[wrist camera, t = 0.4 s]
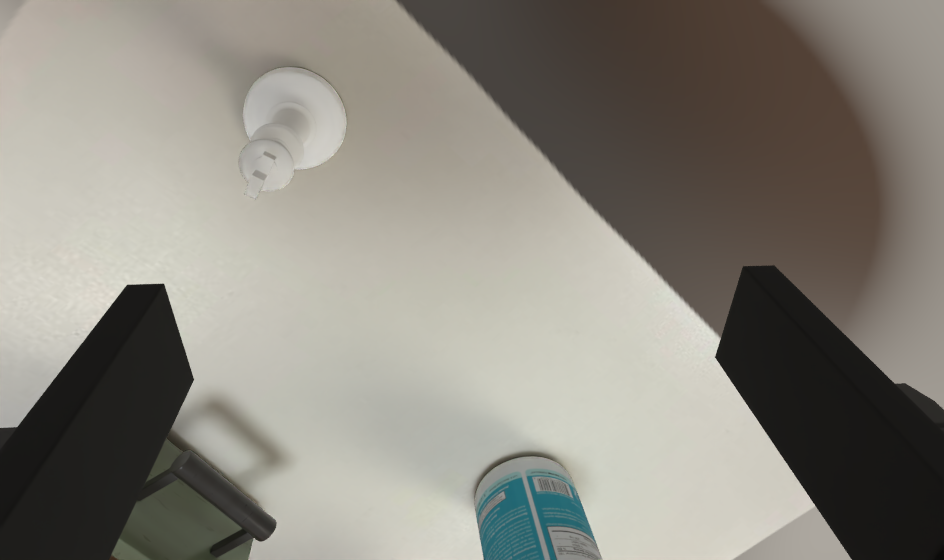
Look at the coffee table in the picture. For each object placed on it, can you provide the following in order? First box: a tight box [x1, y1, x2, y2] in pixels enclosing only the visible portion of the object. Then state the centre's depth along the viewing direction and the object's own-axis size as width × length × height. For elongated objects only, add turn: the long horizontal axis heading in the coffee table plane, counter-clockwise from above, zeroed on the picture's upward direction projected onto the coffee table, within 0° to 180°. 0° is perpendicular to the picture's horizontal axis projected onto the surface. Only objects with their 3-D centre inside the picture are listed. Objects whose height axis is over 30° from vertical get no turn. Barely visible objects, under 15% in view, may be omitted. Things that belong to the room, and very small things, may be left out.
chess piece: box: [239, 67, 347, 200], centre depth 25 cm, size 5×5×10 cm
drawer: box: [109, 439, 276, 560], centre depth 35 cm, size 18×11×7 cm, turn 121°
